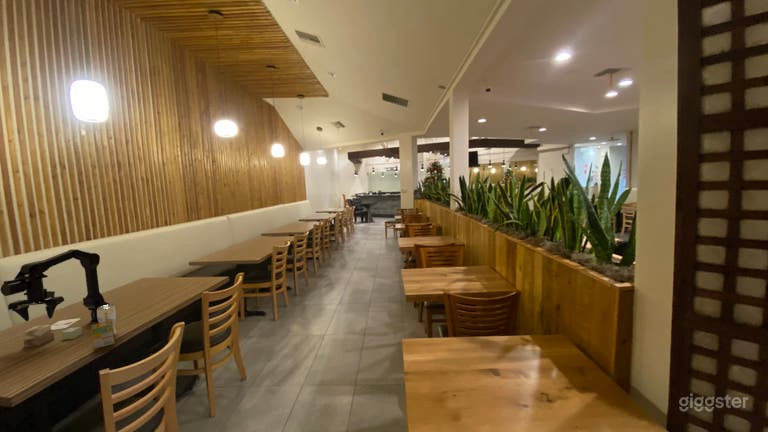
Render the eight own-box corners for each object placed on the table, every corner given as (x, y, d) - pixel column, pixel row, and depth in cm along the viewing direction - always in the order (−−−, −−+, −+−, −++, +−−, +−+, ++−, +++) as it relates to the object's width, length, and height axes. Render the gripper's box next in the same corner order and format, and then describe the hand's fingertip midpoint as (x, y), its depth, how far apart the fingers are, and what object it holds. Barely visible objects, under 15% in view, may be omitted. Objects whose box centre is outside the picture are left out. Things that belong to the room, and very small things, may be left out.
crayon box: (115, 341, 149) (112, 318, 148) (114, 343, 147) (111, 320, 146) (94, 346, 145) (91, 323, 144) (93, 349, 142) (91, 325, 141)
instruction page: (81, 318, 180) (81, 317, 180) (65, 328, 166) (65, 327, 166) (59, 321, 176) (59, 320, 176) (41, 331, 163) (41, 331, 163)
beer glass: (97, 339, 152) (94, 310, 151) (102, 333, 158) (99, 306, 157) (115, 335, 155) (112, 307, 154) (119, 330, 161) (116, 303, 160)
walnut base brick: (54, 339, 154) (53, 332, 153) (39, 347, 147) (37, 339, 146) (40, 340, 153) (39, 332, 153) (24, 347, 146) (23, 339, 146)
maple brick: (51, 332, 153) (50, 324, 153) (40, 337, 147) (39, 330, 147) (37, 333, 152) (36, 326, 152) (25, 339, 146) (24, 331, 146)
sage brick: (81, 334, 159) (81, 327, 158) (73, 338, 154) (72, 331, 153) (70, 335, 158) (70, 328, 157) (62, 340, 153) (61, 332, 152)
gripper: (70, 282, 158) (74, 310, 159) (25, 285, 154) (30, 315, 155) (53, 288, 147) (57, 319, 149) (4, 293, 143) (9, 324, 144)
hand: (39, 319), depth 149 cm, fingers open, 9 cm apart
